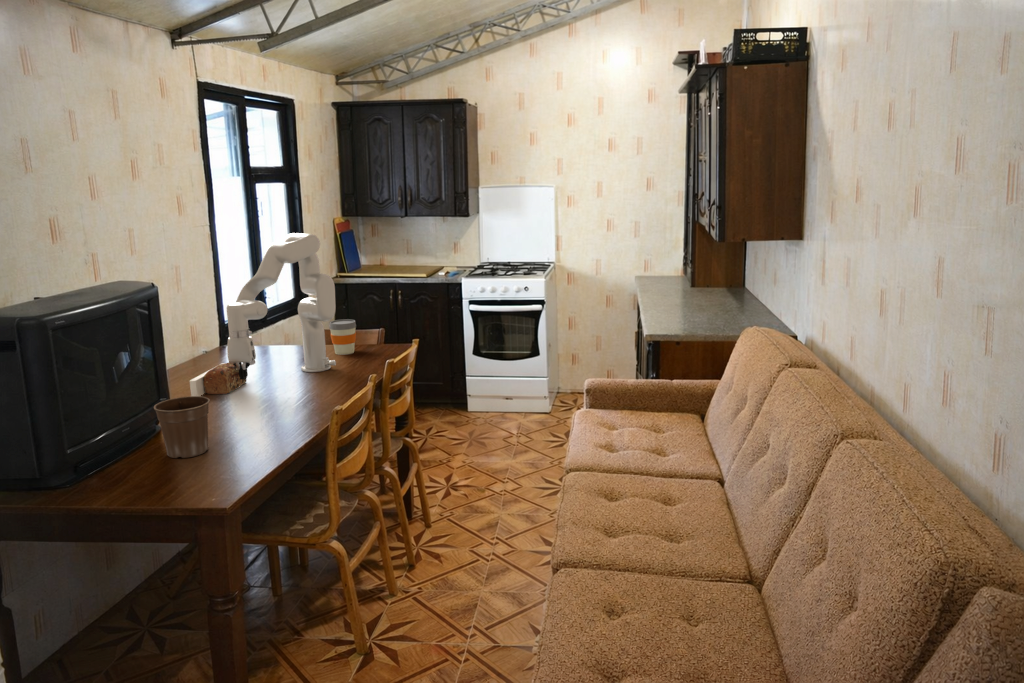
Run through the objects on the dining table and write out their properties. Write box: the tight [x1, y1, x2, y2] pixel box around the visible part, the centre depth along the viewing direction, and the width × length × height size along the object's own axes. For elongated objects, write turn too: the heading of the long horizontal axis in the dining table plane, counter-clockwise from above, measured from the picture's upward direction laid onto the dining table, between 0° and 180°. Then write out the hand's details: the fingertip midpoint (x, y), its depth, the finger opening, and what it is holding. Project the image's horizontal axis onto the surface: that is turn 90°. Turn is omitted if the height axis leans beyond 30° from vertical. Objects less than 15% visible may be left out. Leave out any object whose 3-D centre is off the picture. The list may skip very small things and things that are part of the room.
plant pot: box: [153, 395, 211, 459], centre depth 253 cm, size 16×16×16 cm
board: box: [189, 362, 226, 397], centre depth 329 cm, size 2×28×7 cm, turn 174°
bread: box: [203, 362, 247, 395], centre depth 328 cm, size 19×11×10 cm, turn 173°
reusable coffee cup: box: [329, 318, 357, 356], centre depth 386 cm, size 13×13×15 cm
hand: (243, 378), depth 327 cm, fingers closed
